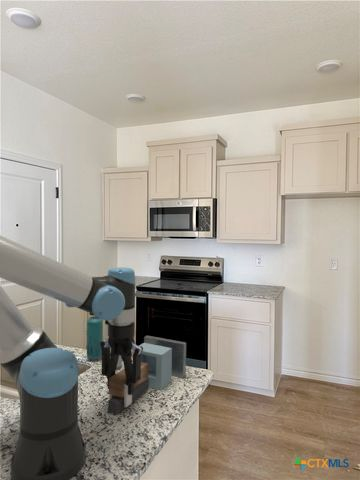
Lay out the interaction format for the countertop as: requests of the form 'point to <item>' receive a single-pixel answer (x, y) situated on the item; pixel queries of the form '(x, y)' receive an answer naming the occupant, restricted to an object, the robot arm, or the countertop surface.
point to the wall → (177, 353)
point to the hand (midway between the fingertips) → (120, 402)
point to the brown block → (120, 379)
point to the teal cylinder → (94, 336)
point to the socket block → (157, 364)
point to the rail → (118, 403)
